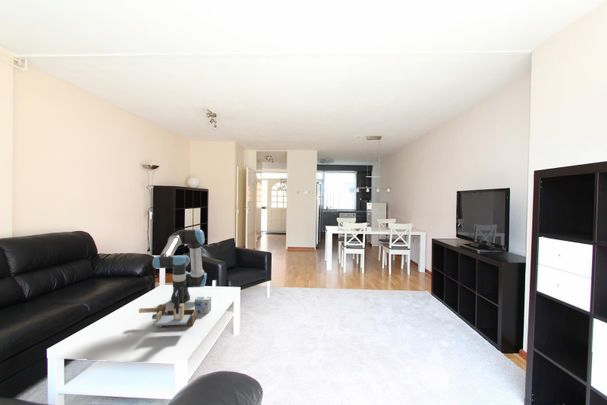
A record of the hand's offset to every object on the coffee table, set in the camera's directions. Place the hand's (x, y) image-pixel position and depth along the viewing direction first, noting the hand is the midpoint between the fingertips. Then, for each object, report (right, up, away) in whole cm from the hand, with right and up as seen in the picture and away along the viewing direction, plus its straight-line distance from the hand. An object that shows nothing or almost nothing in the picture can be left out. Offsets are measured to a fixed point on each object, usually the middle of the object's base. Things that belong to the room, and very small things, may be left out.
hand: (178, 316), depth 185 cm
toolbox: (-8, -11, +15) cm, 20 cm away
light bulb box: (+3, -11, +36) cm, 38 cm away
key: (-25, -2, +13) cm, 28 cm away
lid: (-4, -3, -1) cm, 5 cm away
